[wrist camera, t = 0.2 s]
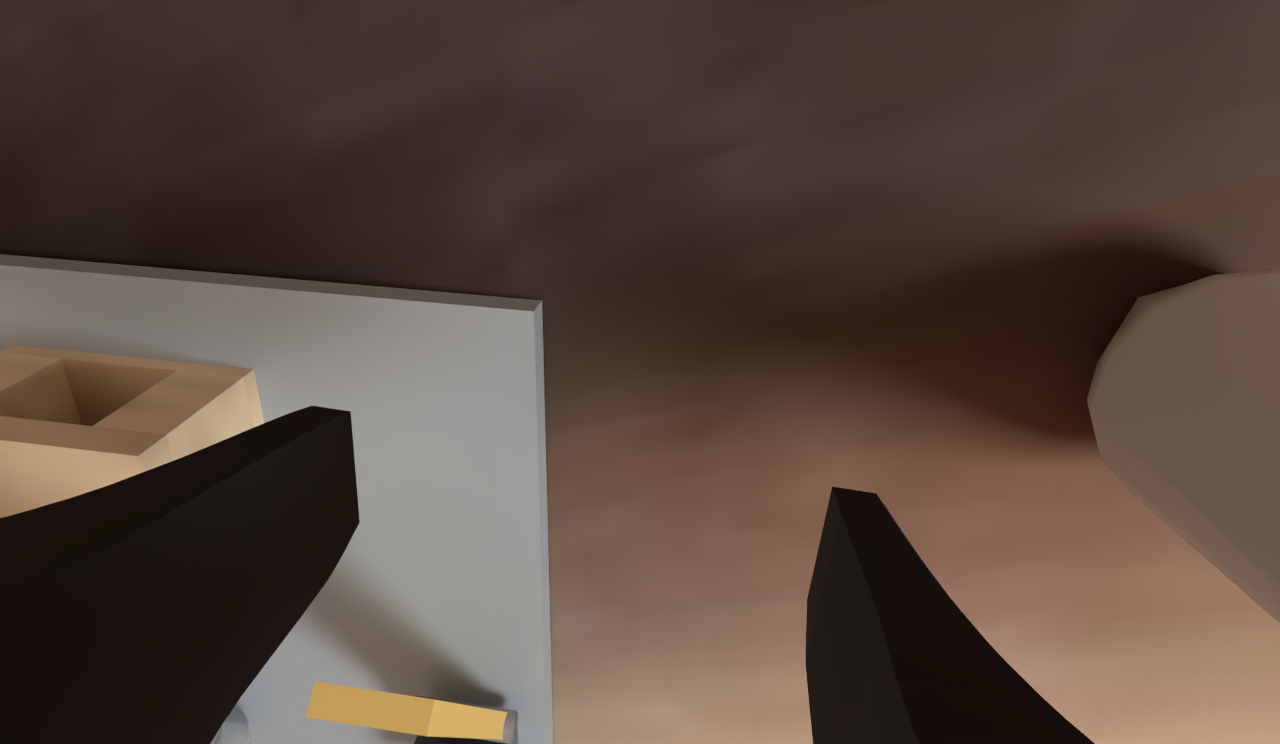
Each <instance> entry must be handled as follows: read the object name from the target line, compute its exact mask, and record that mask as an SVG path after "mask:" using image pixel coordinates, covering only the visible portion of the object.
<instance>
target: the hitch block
mask: <svg viewBox="0 0 1280 744" xmlns="http://www.w3.org/2000/svg"><path fill="white" fill-rule="evenodd" d="M263 423H264V420H263V415H262V409H261V404H260V399H259V394H258V389H257V384H256V379H255V374H254V369H245V368H235V367H226V366H216V365H206V364H196V363H186V362H176V361H166V360H156V359H146V358H136V357H126V356H117V355H107V354H97V353H87V352H77V351H67V350H57V349H47V348H37V347H27V346H18V345H12V346H10V347H8V348H6V349H4V350H2V351H0V518H2V517H7V516H10V515H14V514H18V513H21V512H25V511H28V510H32V509H35V508H39V507H42V506H45V505H49V504H52V503H55V502H59V501H62V500H65V499H69V498H72V497H75V496H78V495H81V494H84V493H87V492H90V491H93V490H96V489H99V488H102V487H105V486H108V485H111V484H113V483H116V482H119V481H121V480H124V479H127V478H129V477H132V476H134V475H137V474H140V473H142V472H145V471H148V470H150V469H153V468H155V467H158V466H161V465H163V464H166V463H169V462H171V461H174V460H177V459H179V458H182V457H184V456H187V455H189V454H192V453H194V452H196V451H199V450H201V449H204V448H206V447H208V446H211V445H213V444H216V443H218V442H220V441H223V440H225V439H228V438H230V437H232V436H235V435H237V434H239V433H242V432H244V431H247V430H249V429H251V428H254V427H256V426H259V425H261V424H263Z"/></svg>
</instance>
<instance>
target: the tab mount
mask: <svg viewBox="0 0 1280 744" xmlns="http://www.w3.org/2000/svg"><path fill="white" fill-rule="evenodd" d="M414 744H507V743H500V742H494V741H488V740H481V739H475V738H454V737H430V736H421V735H418V736H417V738H416V740H415V742H414ZM511 744H518V725H517V728H516V733H515V736H514V739H513V742H512V743H511Z"/></svg>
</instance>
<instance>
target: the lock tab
mask: <svg viewBox="0 0 1280 744" xmlns="http://www.w3.org/2000/svg"><path fill="white" fill-rule="evenodd" d="M305 717H307V718H313V719H320V720H326V721H332V722H339V723H345V724H351V725H358V726H364V727H370V728H377V729H383V730H389V731H396V732H402V733H408V734H415V735H421V736H430V737H454V738H475V739H481V740H488V741H494V742H500V743H507V744H511V743H512V742H513V739H514V736H515V733H516V728H517V722H518V712H517V710H510V709H504V708H497V707H490V706H484V705H477V704H470V703H464V702H457V701H451V700H444V699H437V698H431V697H424V696H418V695H415V696H408V695H401V694H395V693H388V692H381V691H375V690H368V689H361V688H355V687H348V686H342V685H335V684H328V683H322V682H315V684H314V687H313V691H312V695H311V698H310V702H309V705H308V709H307V713H306V716H305Z"/></svg>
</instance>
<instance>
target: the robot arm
mask: <svg viewBox="0 0 1280 744" xmlns="http://www.w3.org/2000/svg"><path fill="white" fill-rule="evenodd" d="M359 523H360V520H359V508H358V496H357V483H356V471H355V459H354V447H353V434H352V422H351V411H344V410H338V409H331V408H325V407H319V406H310V407H306V408H303V409H300V410H297V411H294V412H291V413H289V414H286V415H283V416H281V417H278V418H276V419H273V420H271V421H268V422H266V423H263V424H261V425H259V426H256V427H254V428H251V429H249V430H247V431H244V432H242V433H239V434H237V435H235V436H232V437H230V438H228V439H225V440H223V441H220V442H218V443H216V444H213V445H211V446H208V447H206V448H204V449H201V450H199V451H196V452H194V453H192V454H189V455H187V456H184V457H182V458H179V459H177V460H174V461H171V462H169V463H166V464H163V465H161V466H158V467H155V468H153V469H150V470H148V471H145V472H142V473H140V474H137V475H134V476H132V477H129V478H127V479H124V480H121V481H119V482H116V483H113V484H111V485H108V486H105V487H102V488H99V489H96V490H93V491H90V492H87V493H84V494H81V495H78V496H75V497H72V498H69V499H65V500H62V501H59V502H55V503H52V504H49V505H45V506H42V507H39V508H35V509H32V510H28V511H25V512H21V513H18V514H14V515H10V516H7V517H2V518H0V744H211V742H212V740H213V739H214V737H215V735H216V734H217V732H218V730H219V729H220V727H221V725H222V724H223V722H224V721H225V719H226V718H227V717H228V715H229V714H230V712H231V711H232V709H233V708H234V706H235V705H236V703H237V702H238V701H239V699H240V698H241V696H242V695H243V694H244V692H245V691H246V690H247V688H248V687H249V686H250V684H251V683H252V682H253V680H254V679H255V678H256V676H257V675H258V674H259V672H260V671H261V670H262V668H263V667H264V666H265V664H266V663H267V662H268V660H269V659H270V658H271V656H272V655H273V654H274V652H275V651H276V650H277V648H278V647H279V646H280V644H281V643H282V642H283V640H284V639H285V638H286V636H287V635H288V634H289V632H290V631H291V630H292V628H293V627H294V626H295V624H296V623H297V622H298V620H299V619H300V618H301V616H302V615H303V614H304V612H305V611H306V610H307V608H308V607H309V605H310V604H311V603H312V601H313V600H314V599H315V597H316V596H317V595H318V593H319V592H320V591H321V589H322V588H323V586H324V585H325V584H326V582H327V581H328V579H329V578H330V576H331V575H332V573H333V571H334V569H335V568H336V566H337V564H338V562H339V561H340V559H341V557H342V555H343V553H344V552H345V550H346V548H347V546H348V544H349V542H350V540H351V538H352V536H353V534H354V532H355V530H356V529H357V527H358V525H359ZM806 672H807V683H808V693H809V704H810V715H811V725H812V735H813V744H1094V743H1093V742H1092V741H1091V740H1090V739H1089V738H1087V737H1086V736H1085V735H1084V734H1083V733H1081V732H1080V731H1079V730H1078V729H1077V728H1076V727H1074V726H1073V725H1072V724H1071V723H1070V722H1069V721H1067V720H1066V719H1065V718H1064V717H1063V716H1062V715H1061V714H1060V713H1058V712H1057V711H1056V710H1055V709H1054V708H1053V707H1052V706H1051V705H1050V704H1049V703H1048V702H1046V701H1045V700H1044V699H1043V698H1042V697H1041V696H1040V695H1039V694H1038V693H1037V692H1036V691H1035V690H1034V689H1033V688H1032V687H1031V686H1030V685H1029V684H1028V683H1027V682H1026V681H1025V680H1024V679H1023V678H1022V677H1021V676H1020V675H1019V674H1018V673H1017V672H1016V671H1015V670H1014V669H1013V668H1012V667H1011V666H1010V665H1009V664H1008V663H1007V662H1006V661H1005V660H1004V659H1003V658H1002V657H1001V656H1000V655H999V654H998V653H997V652H996V651H995V650H994V648H993V647H992V646H991V645H990V644H989V643H988V642H987V641H986V640H985V639H984V637H983V636H982V635H981V634H980V633H979V632H978V630H977V629H976V628H975V627H974V626H973V625H972V623H971V622H970V621H969V620H968V619H967V618H966V616H965V615H964V614H963V613H962V612H961V611H960V609H959V608H958V607H957V606H956V605H955V603H954V602H953V601H952V600H951V598H950V597H949V596H948V594H947V593H946V592H945V590H944V589H943V588H942V586H941V585H940V584H939V582H938V581H937V580H936V579H935V577H934V576H933V575H932V573H931V572H930V571H929V569H928V568H927V566H926V565H925V564H924V562H923V561H922V560H921V558H920V557H919V555H918V554H917V552H916V551H915V550H914V548H913V547H912V545H911V544H910V542H909V541H908V539H907V538H906V537H905V535H904V534H903V532H902V531H901V529H900V528H899V526H898V525H897V523H896V522H895V520H894V519H893V517H892V516H891V514H890V513H889V511H888V510H887V508H886V507H885V505H884V504H883V503H882V501H881V500H880V498H879V497H878V496H877V494H875V493H869V492H862V491H856V490H850V489H843V488H837V487H832V491H831V495H830V500H829V504H828V509H827V513H826V518H825V522H824V527H823V531H822V536H821V540H820V545H819V549H818V554H817V558H816V563H815V567H814V572H813V576H812V581H811V585H810V590H809V594H808V599H807V627H806Z"/></svg>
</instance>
